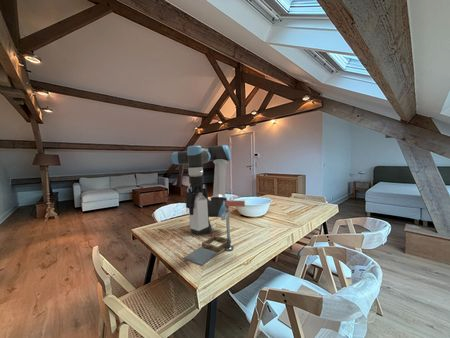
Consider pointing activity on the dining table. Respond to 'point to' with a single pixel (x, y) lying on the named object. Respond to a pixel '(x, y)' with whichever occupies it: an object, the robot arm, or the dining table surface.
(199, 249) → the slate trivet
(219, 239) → the frame
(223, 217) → the signpost
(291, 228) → the dining table surface
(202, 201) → the milk carton
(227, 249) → the base
